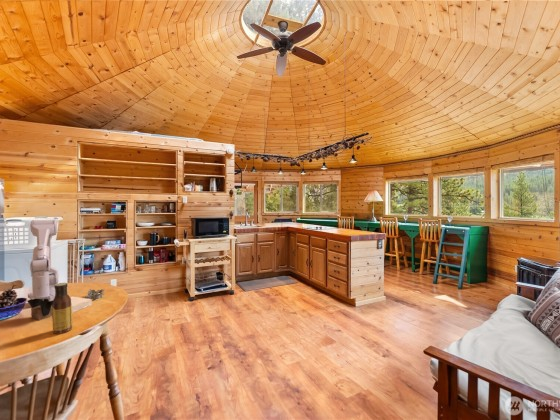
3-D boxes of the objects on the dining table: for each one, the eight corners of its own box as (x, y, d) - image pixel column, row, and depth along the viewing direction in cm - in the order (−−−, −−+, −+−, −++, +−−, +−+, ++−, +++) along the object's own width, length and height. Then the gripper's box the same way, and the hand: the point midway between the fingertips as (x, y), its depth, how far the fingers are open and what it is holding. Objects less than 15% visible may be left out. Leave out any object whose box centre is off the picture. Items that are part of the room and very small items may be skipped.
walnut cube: (31, 319, 118) (31, 308, 118) (44, 314, 123) (43, 304, 123) (39, 320, 117) (38, 309, 117) (51, 315, 121) (51, 305, 121)
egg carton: (89, 295, 149) (89, 288, 149) (105, 293, 152) (105, 286, 152) (85, 302, 139) (84, 294, 139) (101, 299, 142) (101, 292, 142)
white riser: (46, 311, 127) (45, 305, 127) (71, 302, 138) (71, 296, 138) (67, 314, 123) (66, 308, 123) (91, 305, 134) (91, 299, 134)
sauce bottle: (60, 327, 110) (59, 281, 110) (76, 327, 111) (75, 281, 110) (48, 335, 104) (47, 286, 103) (64, 334, 104) (63, 285, 104)
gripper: (19, 286, 118) (20, 316, 118) (41, 289, 113) (42, 320, 114) (37, 281, 124) (38, 309, 125) (59, 284, 120) (60, 313, 121)
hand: (41, 314), depth 120 cm, fingers closed on walnut cube, 5 cm apart
